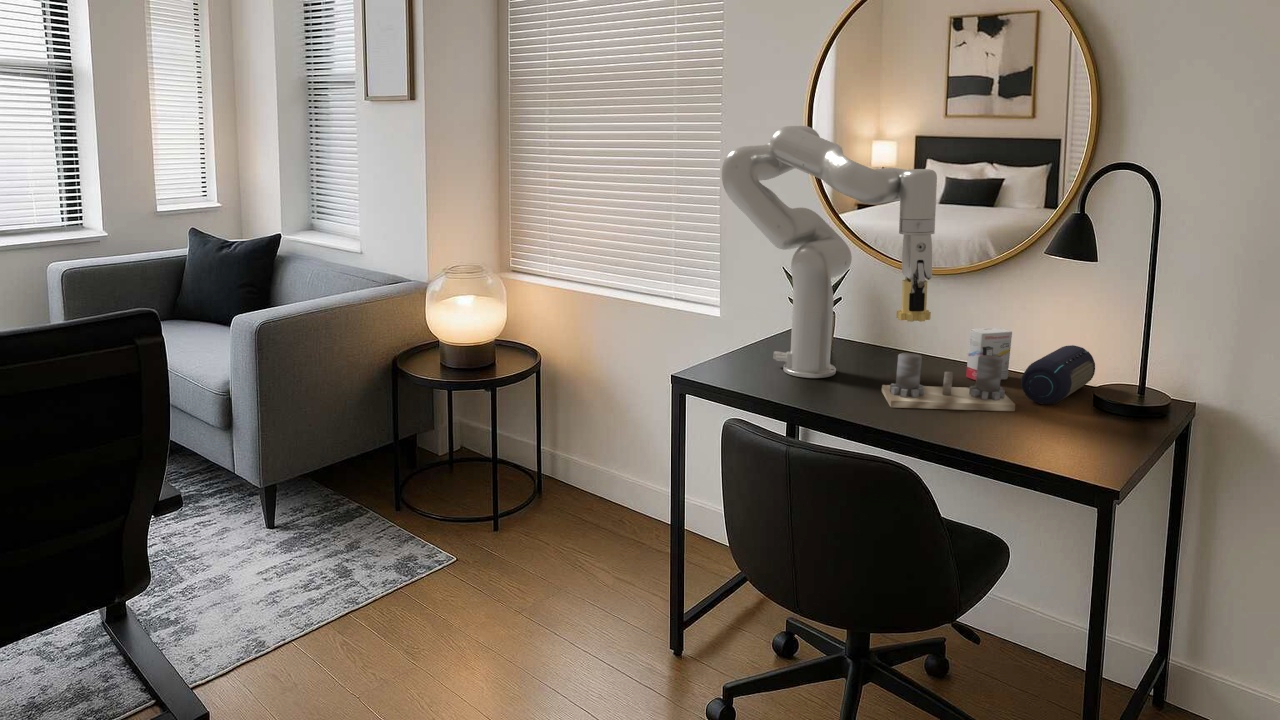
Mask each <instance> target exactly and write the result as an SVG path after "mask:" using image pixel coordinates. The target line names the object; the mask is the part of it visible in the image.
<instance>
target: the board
mask: <svg viewBox="0 0 1280 720" xmlns="http://www.w3.org/2000/svg"><path fill="white" fill-rule="evenodd" d="M922 359H923V356H922V355H921V354H917V353H912V352H902V353H899V354H897V364H896V365H897V366H896V377H895V383H890V384H882V385H881V393H882V395H883V396H884V399H885V401H886V402H887V403H888V405H889V407H890V408H897V409H898V408H899V409H901V408H904V409H927V410H928V409H931V410H933V409H935V410H958V411H960V410H961V411H963V410H964V411H988V412H989V411H990V412H991V411H992V412H993V411H994V412H1015V410H1016V403H1014V402H1013V401H1012V399H1010V397H1009V396H1008V395H1006V390H1005V389H1004V387H1002V386H1001V381H1002V379H1001V372H1002V363H1003V359H1002V358H1001V357H997V356H991V355H982V356H979V357H978V367H977V377H976V380H975V383H974V385H970V386H969V387H967V386H966V387H965V386H964V387H959V386H958V387H957V386H952V385H953V378H954V377H953V376H954V372H953V371H944V373H943V383H942V386H929V385H928V386H927V385H923V384H920V382H921V370H922V361H923V360H922Z"/></svg>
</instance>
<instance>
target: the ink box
mask: <svg viewBox="0 0 1280 720" xmlns="http://www.w3.org/2000/svg"><path fill="white" fill-rule="evenodd" d="M969 330H970V331H969V341H968V342H969V343H968V351H967V352H968V353H967V364H966V371H965V372H966V373H965V377H966V378H968V379H971V380H973V381H976V377H977V367H978V357H979V356H982V355H991V356H997V357H1001V358H1002V359H1003V363H1002V372H1001V380H1007V379H1008V376H1009V366H1010V358H1011V357H1010V356H1011V348H1012V347H1011V346H1012V337H1013V331H1011V330H1008V329H1005V328H1002V327H984V328H983V327H982V328H972V329H969Z"/></svg>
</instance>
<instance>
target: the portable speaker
mask: <svg viewBox="0 0 1280 720" xmlns="http://www.w3.org/2000/svg"><path fill="white" fill-rule="evenodd" d="M1095 373H1096V363H1095V360H1094V357H1093V355H1092V354H1091V353H1090V352H1089V351H1088V350H1087V349H1085V348H1084V347H1081V346H1078V345H1074V344H1072V345H1065V346H1061V347H1060V348H1058V349H1056V350H1054V351H1052V352H1050V353H1048V354H1047V355H1044V356H1042V357H1041V358H1039V359H1038V360H1037V359H1036V361H1034V362H1031V364H1029V365H1028V366H1027V368H1026V369H1025V370H1024V372H1023V374H1022V377H1021V379H1020V380H1021V381H1020V382H1021V388H1022V389H1021V390H1022V391H1023V393H1024V395H1025V396H1026V397H1027V398H1028V399H1029V400H1030V401H1032V402H1034V403H1037V404H1041V405H1054V404H1056V403H1058V402H1061V401H1063V400H1064V399H1065V398H1067V397H1068V396H1070V395H1071V394H1073V393H1074V392H1077V391H1078V390H1079V389H1081V388H1082V387H1084V386H1086V385H1087V384H1088V383H1089V382H1091V380H1092V379H1093V377H1094V376H1095Z"/></svg>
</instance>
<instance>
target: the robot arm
mask: <svg viewBox="0 0 1280 720" xmlns="http://www.w3.org/2000/svg"><path fill="white" fill-rule="evenodd" d="M770 137H771V138H770V141H769V143H766V144H763V145H762V144H761V145H746V146H740V147H737V148H734V149H733V150H731V151H730V152H729V153H728V154H727V155H726V157H724V159H723V161H722V162H723V163H722V166H721V181H722V186H723V188H724V191H725V193H726V194H727V197H728V198H729V199H730V200H731V201H732V203H733V204H734V205H735V206H736V207H737V208H738V209H739V210H740V211H741V212H742V213H743V214H744V215H745V216H746V217H748V219H749V220H750V221H751V222H752V224H753V225H754V226H755V227H756V228H757V229H758V230H759V231H760V232H761V233H762V234H763V235H764V237H766V238H767V240H768V241H770V243H772V245H773V246H774V247H776V248H777V249H778V250H783V251H784V250H785V251H786V250H793V249H794V250H795V249H796V248H797V249H796V251H795V252H794V254H793V256H792V259H791V267H790V268H791V269H790V271H791V278H792V295H793V296H792V316H791V334H790V335H791V336H790V350H789V351H786V352H782V351H777V350H776V351H775V350H774V351H773V354H772V355H773V356H772V358H773V359H774V360H775V361H776V362H784V363H785V364H783V372H784V373H785V374H788V375H790V376H794V377H799V378H804V379H805V378H806V379H823V378H829V377H833V376H835V374H836V373H837V368H836V366H834V365H833V364H831V351H832V335H833V333H832V332H833V320H834V319H833V317H834V291H833V285H832V278H836V277H838V276H839V277H840V276H842V275H844V274H845V273H846V272H847V271H848V270H849V268H850V266H851V265H852V261H853V260H852V258H853V257H852V251H851V249H850V247H849V245H848V244H847V242H846V241H845V240H844V239H843V237H841V236H840V234H838V233H837V231H835V230H834V229H833V227H832V226H830V225H829V224H828V223H827V222H826V220H824V218H823V217H821V216H820V215H819V214H818V212H816V211H813V210H812V209H810V208H807V207H794V208H792V207H789V206H788V205H786V204H785V202H784V201H783V200H782V199H780V197H778V195H777V194H776V192H773V191H772V190H771V189H770V188H768V187H767V186H766V185H764V184H763V183H761V182H760V181H766V180H767V181H768V180H771V179H775V178H776V177H779V176H781V175H783V174H785V173H788V172H789V171H792V170H794V169H797V170H799V171H801V172H804V173H806V174H808V175H810V176H813V177H815V178H817V179H820V180H822V181H823V182H824V183H825V184H827V185H828V186H829V187H830V188H832V189H834V190H835V191H837V192H838V193H840V194H842V195H845V196H847V197H849V198H852V199H854V200H855V201H858V202H861V203H863V204H867V205H873V206H874V205H880V204H887V203H893V202H898V201H899V220H898V221H899V223H898V224H899V226H898V227H899V228H898V234H899V235H903V237H902V250H901V251H902V253H901V272H902V273H901V274H902V275H903V276H905V277H904V278H905V279H904V280H906V279H910V280H911V293H909V311H924V302H925V280H927V281H928V280H931V279H932V278H933V240H932V235H935V233H936V231H935V229H936V210H937V209H936V207H937V206H936V205H937V189H938V188H937V186H938V184H937V183H938V175H937V172H936V171H935V170H933V169H930V168H929V169H928V168H912V169H911V168H910V169H904V168H897V167H882V168H871V167H868V166H866V165H865V164H861V163H858V162H856V161H854V160H851V159H850V158H848V157H847V156H845V155H844V152H843V149H842V148H843V147H841V146H840V144H837V143H834V142H832V141H830V140H828V139H824V138H822V137H821V136H820V134H819V133H818V132H817V131H816V130H815V129H814V128H812V127H810V126H807V125H786V126H782V127H780V128H778V129H777V130H776V131H775V132H774V133H773V134H772V135H771V136H770ZM914 282H917V283H915V287H914Z"/></svg>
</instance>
